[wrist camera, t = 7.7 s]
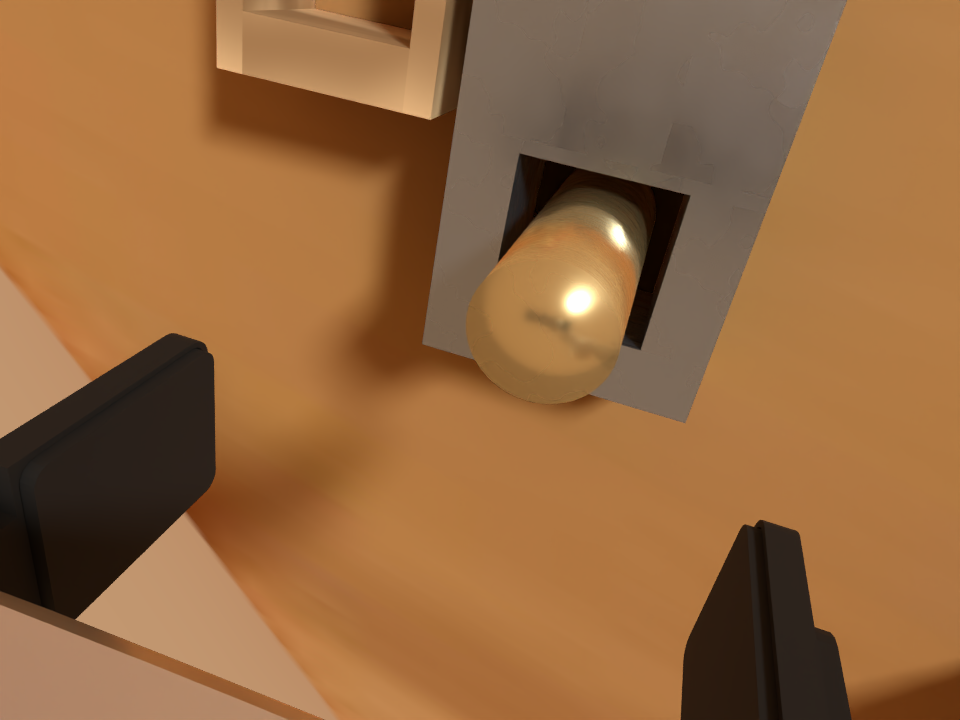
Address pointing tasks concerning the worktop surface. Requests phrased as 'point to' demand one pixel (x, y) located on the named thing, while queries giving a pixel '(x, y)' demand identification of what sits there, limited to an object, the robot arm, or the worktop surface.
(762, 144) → the socket block
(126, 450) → the robot arm
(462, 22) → the rack
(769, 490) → the worktop surface
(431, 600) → the worktop surface
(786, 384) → the worktop surface
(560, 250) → the gold cylinder
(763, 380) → the worktop surface
